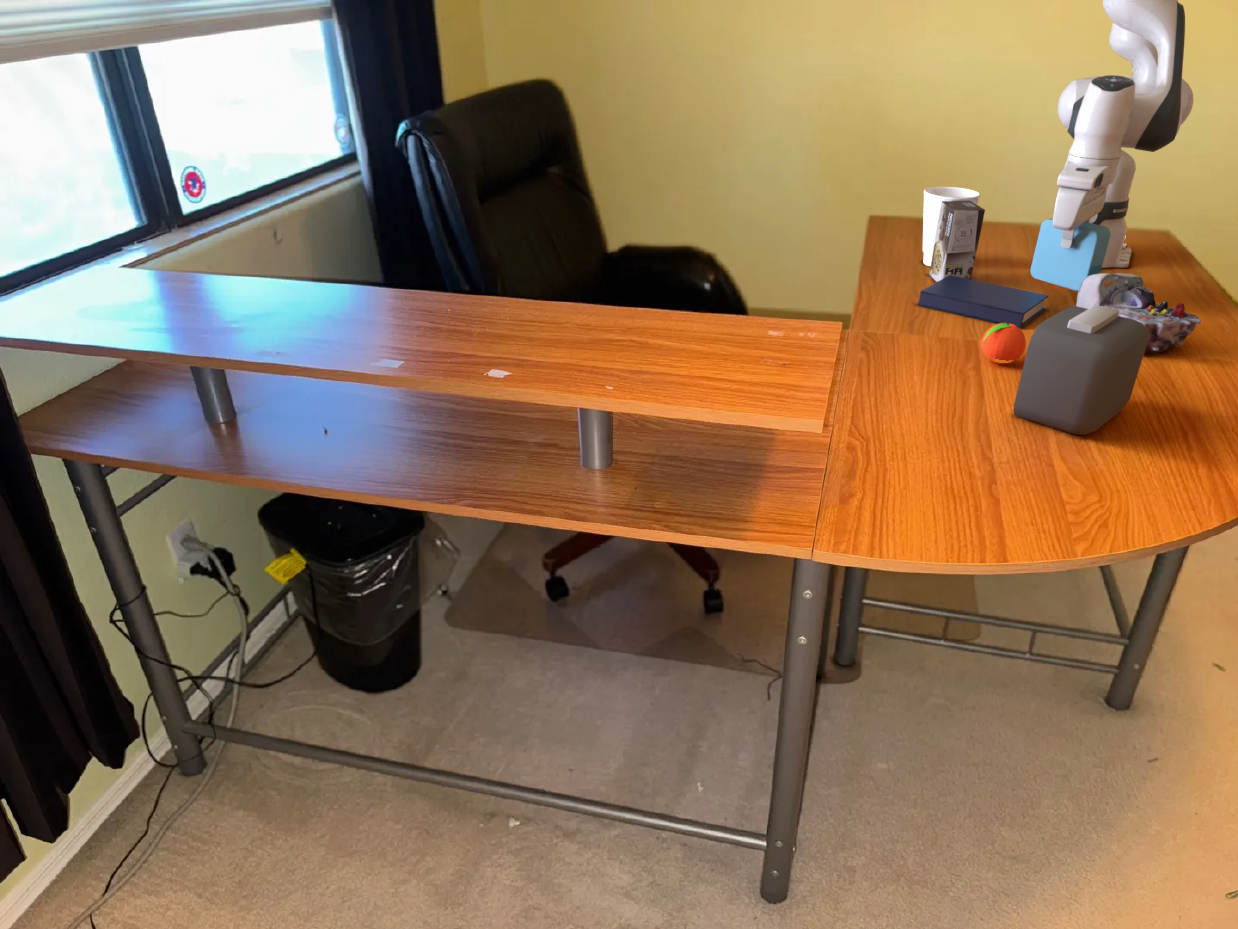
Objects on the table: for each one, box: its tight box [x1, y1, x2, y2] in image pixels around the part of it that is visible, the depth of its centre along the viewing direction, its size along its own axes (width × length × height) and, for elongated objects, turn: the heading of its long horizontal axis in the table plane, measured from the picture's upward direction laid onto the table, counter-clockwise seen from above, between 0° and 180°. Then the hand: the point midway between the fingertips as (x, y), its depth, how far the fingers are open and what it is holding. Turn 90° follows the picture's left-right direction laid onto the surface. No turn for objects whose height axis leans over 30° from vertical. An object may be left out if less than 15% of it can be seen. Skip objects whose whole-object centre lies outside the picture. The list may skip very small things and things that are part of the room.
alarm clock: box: [1013, 305, 1148, 436], centre depth 128 cm, size 16×11×16 cm
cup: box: [922, 186, 981, 267], centre depth 197 cm, size 12×12×16 cm
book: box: [917, 275, 1049, 329], centre depth 174 cm, size 14×20×3 cm
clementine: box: [980, 323, 1027, 366], centre depth 147 cm, size 8×7×7 cm
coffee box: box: [929, 201, 986, 283], centre depth 186 cm, size 9×6×16 cm
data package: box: [1030, 217, 1111, 292], centre depth 174 cm, size 12×4×12 cm, turn 34°
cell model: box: [1075, 272, 1202, 354], centre depth 157 cm, size 13×11×20 cm
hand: (1071, 243), depth 173 cm, fingers closed on data package, 5 cm apart
